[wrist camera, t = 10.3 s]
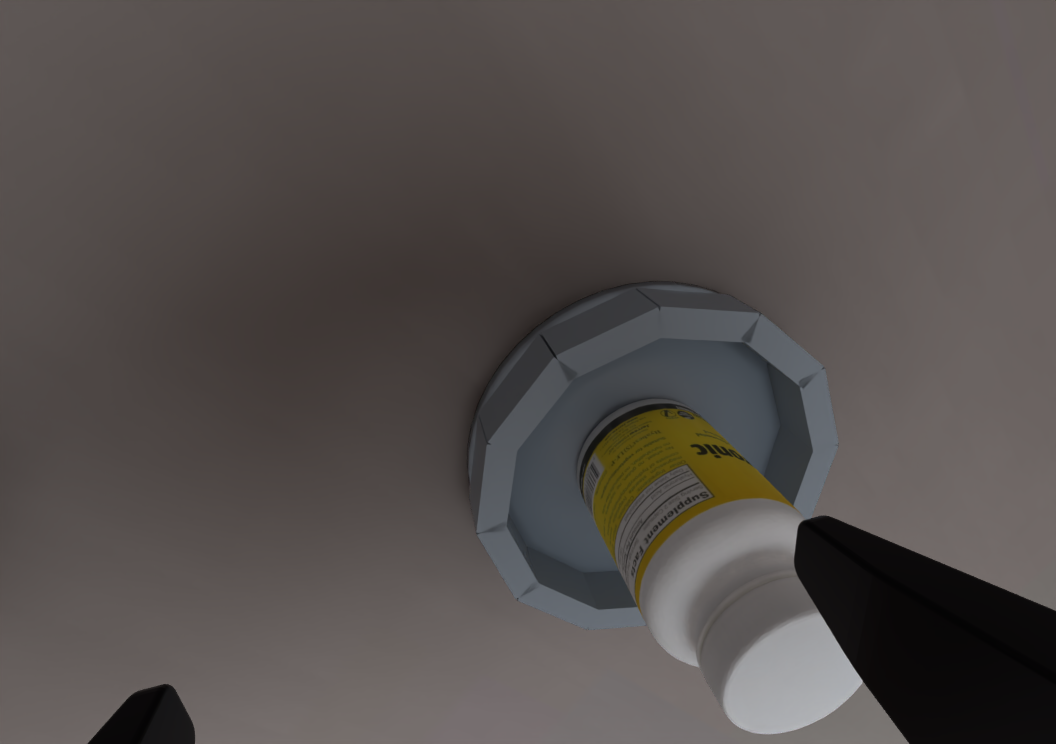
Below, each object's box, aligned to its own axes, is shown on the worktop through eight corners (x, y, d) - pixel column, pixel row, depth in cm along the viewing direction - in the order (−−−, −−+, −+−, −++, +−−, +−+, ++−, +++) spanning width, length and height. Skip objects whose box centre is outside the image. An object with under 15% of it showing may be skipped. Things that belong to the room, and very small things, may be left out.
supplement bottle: (732, 452, 24) (936, 660, 15) (627, 538, 24) (762, 785, 16) (658, 363, 21) (848, 549, 13) (543, 461, 22) (648, 702, 13)
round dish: (645, 616, 28) (671, 667, 25) (396, 501, 22) (398, 552, 20) (850, 395, 25) (902, 429, 22) (621, 203, 19) (656, 219, 17)
